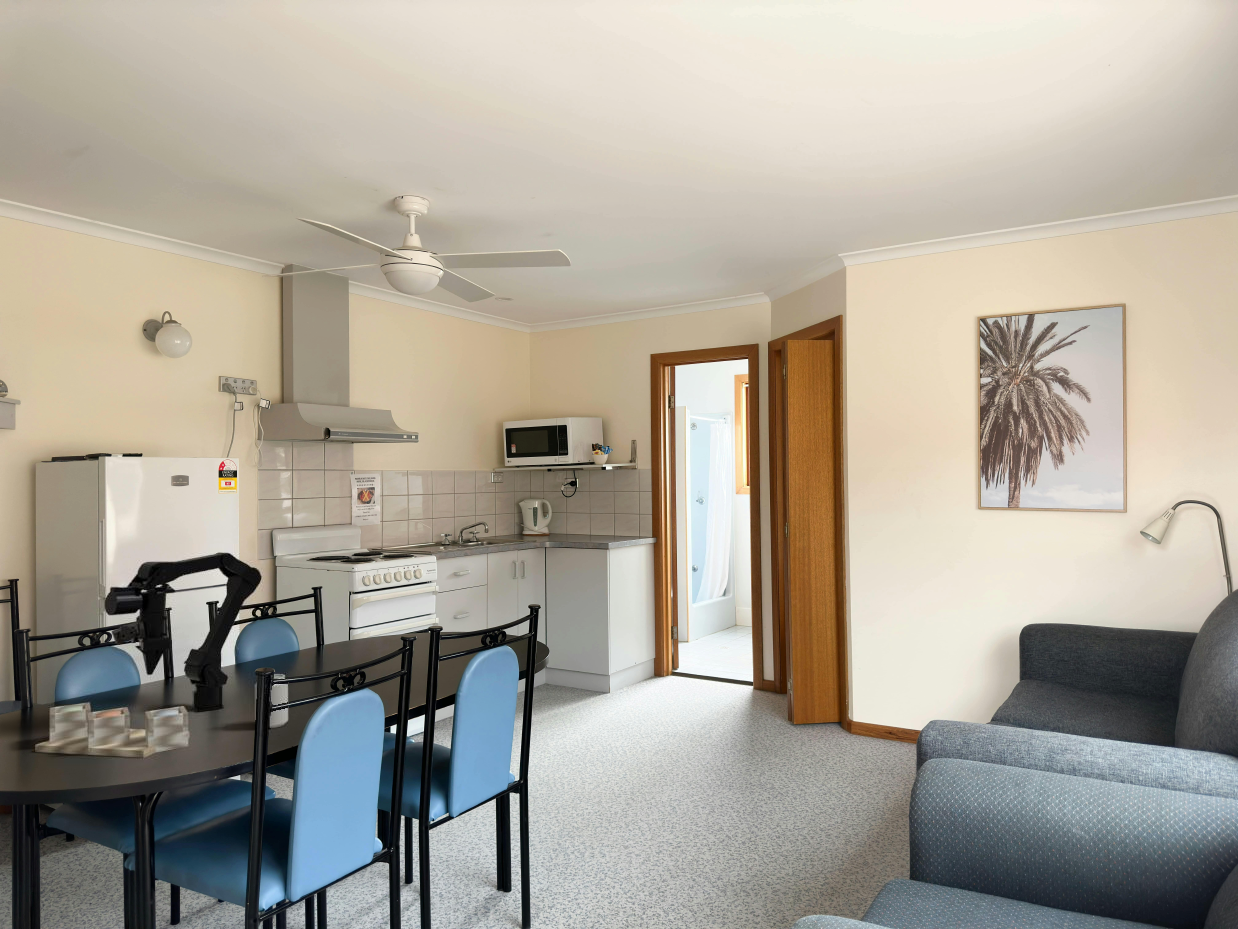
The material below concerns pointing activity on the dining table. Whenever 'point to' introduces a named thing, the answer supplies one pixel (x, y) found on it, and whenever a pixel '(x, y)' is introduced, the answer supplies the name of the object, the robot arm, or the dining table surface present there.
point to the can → (277, 702)
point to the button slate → (166, 713)
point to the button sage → (70, 709)
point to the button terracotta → (108, 714)
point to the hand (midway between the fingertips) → (149, 674)
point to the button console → (114, 733)
